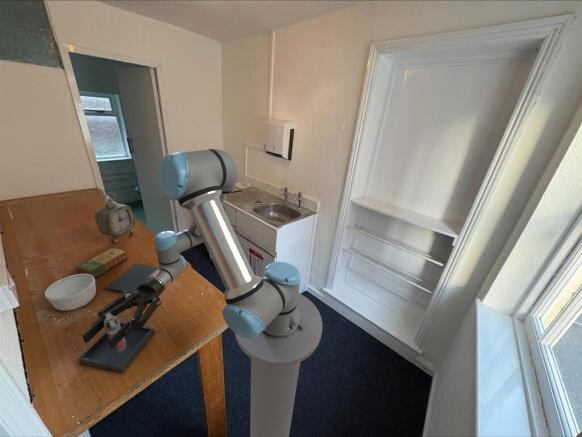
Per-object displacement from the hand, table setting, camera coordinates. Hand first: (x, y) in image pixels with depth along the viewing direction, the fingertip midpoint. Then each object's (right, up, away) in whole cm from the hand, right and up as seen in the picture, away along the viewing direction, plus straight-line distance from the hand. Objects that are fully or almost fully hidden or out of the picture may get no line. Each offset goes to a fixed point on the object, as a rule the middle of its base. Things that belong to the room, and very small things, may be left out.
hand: (97, 341), depth 63 cm
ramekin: (-27, +3, +23) cm, 35 cm away
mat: (-12, +8, +35) cm, 38 cm away
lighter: (0, -4, +7) cm, 8 cm away
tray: (0, -6, +8) cm, 10 cm away
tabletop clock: (-40, +23, +62) cm, 78 cm away
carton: (-31, +12, +41) cm, 53 cm away
